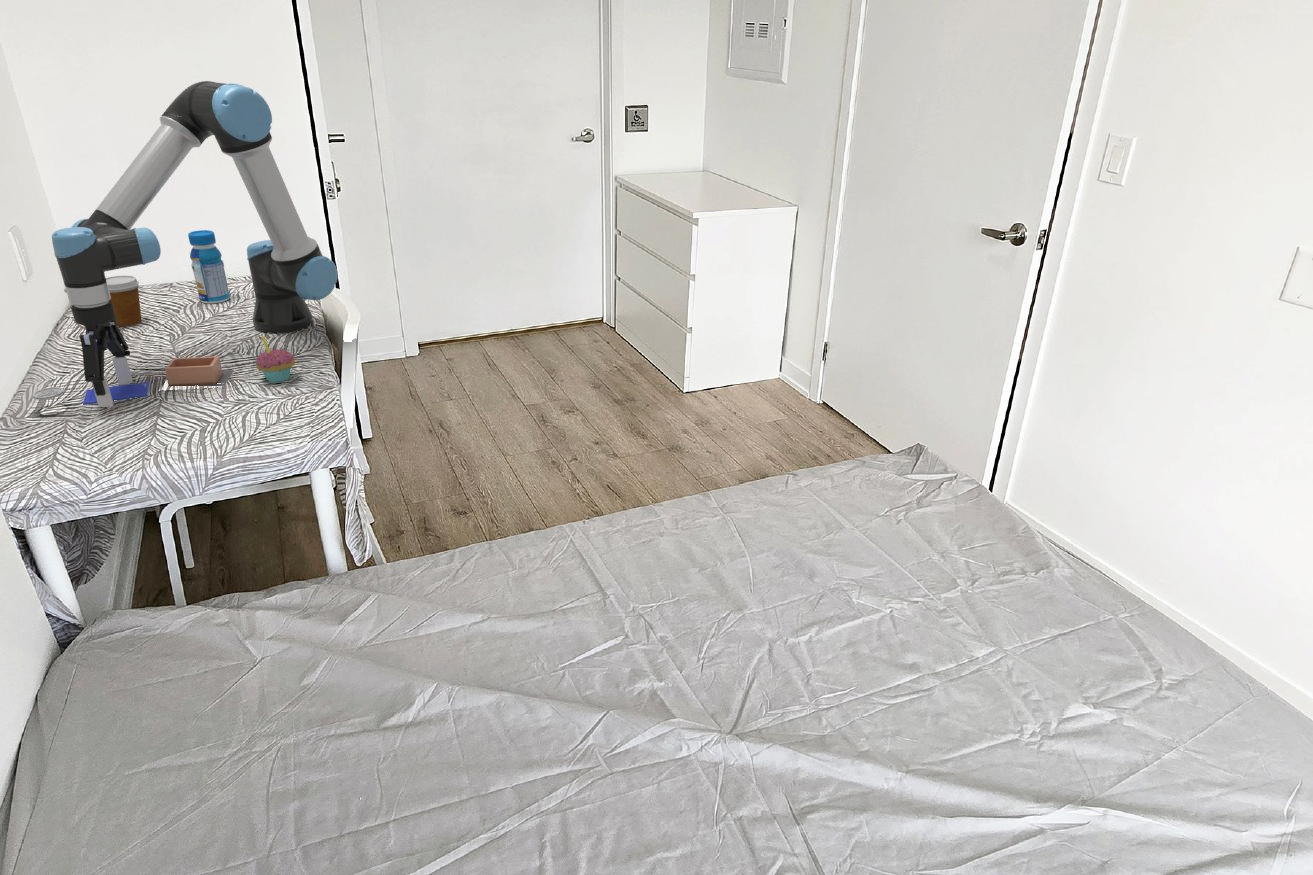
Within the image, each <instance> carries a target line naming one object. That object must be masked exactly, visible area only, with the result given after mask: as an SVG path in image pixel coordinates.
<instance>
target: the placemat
mask: <svg viewBox="0 0 1313 875" xmlns="http://www.w3.org/2000/svg"><path fill="white" fill-rule="evenodd" d="M234 371H235V370H234V369H224V370H223V369H222V372H223V374H222V376H221V378H220V379H219V381H218V383H221V384H214V385H198V386H224V387H222V388H221V389H224V388H225V386H226V384H227V383H228V381H229V380H230V378H231V376H232V374H233V373H234ZM222 383H224V384H222ZM225 383H226V384H225ZM196 386H197V385H196ZM208 389H209V390H211V389H213V388H208ZM208 389H207V388H204V389H203V390H208ZM216 389H219V388H218V387H217V388H216ZM196 390H198V389H197V388H196Z"/></svg>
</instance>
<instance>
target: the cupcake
mask: <svg viewBox="0 0 1313 875" xmlns="http://www.w3.org/2000/svg"><path fill="white" fill-rule="evenodd" d="M260 334H261V340H262V343H263V344H264V347H265V351H263V352H261V353H259V355H258V356H257V357H256V358H255V361H254V362H255V367H256V369H257V370H259V371H261V372H262V374H263V375H264V377H265V378H266V380H267V381H268V382H272V383H279V382H283V381H286V380H287V379H288V378H289V379H290V374H291V370H292V368H293V366H295V365H296V359H295V357H294V355H293V354H292V353H291V352H290V351H287V350H285V349H282V348H280V349H278V348H274V349H270V348H269V345H268V342H267V339H266V336H265V335H263V333H260ZM289 379H288V380H289ZM288 380H287V381H288Z"/></svg>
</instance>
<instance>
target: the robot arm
mask: <svg viewBox="0 0 1313 875" xmlns="http://www.w3.org/2000/svg"><path fill="white" fill-rule="evenodd" d="M272 116H273V115H272V111H271V109H270V106H269V104H268V102H267V101H266V100H265V98H264V97H263V96H262V95H261V94H260V93H258V91H256V90H254V89H252V88H250V87H248V86H244V85H243V84H238V83H232V82H231V83H225V82H216V81H209V80H202V81H198V82H195V83H193V84H191V85H189V86H188V87H186V88H185V89H184V90H182V91H181V92H180V93H179V94H178V95H177V96H176V97H175V98H174V99H173V101H172V102H170V104H169V105H168V106H167V108H166V109H165V110H164V112H163V113H162V114H161V116H160V117H159V121H160V126H159V127H158V128H157V130H156V131H155V132H154V134H152V135H151V137H150V138H149V140H148V141H147V142H146V143H145V145H144V146H143V148H141V150H140V152H139V153H138V154H137V156H136V157H135V158H134V159H133V160H132V162H131V163H130V165H129V166H128V167H127V168H126V170H125V171H124V172H123V174H122V175H121V176H120V178H118V180H117V181H116V183H115V184H114V185H113V187H111V189H110V190H109V191H108V193H107V195H106V196H104V199H103V200H101V202H100V203H99V205H98V206H97V207H96V209H95V210H94V211H93V213H91V215H90V216H89V217H88V218H83V219H80V220H78V221H76V222H74V223H73V224H72V225H71V227H65V228H64V227H63V228H61V229H60V228H59V229H57V230H55V231H53V233H52V234H51V240H52V241H51V242H52V248H53V251H54V254H53V255H54V257H55V258H56V261H57V264H58V268H59V271H60V274H61V277H62V280H63V285H64V289H63V291H64V293H66V294H67V298H68V301H69V302H68V303H69V304H71V306H70V309H71V310H70V311H71V313H72V316H73V320H74V322H75V323H76V324H78V325H80V326H83V327H85V334H80V335H79V340H80V344H81V352H82V361H83V373H84V380H85V382H86V383H91V386H92V387H93V388H92V389H94V392H95V395H96V399H97V402H98V404H97V405H98V408H99V407H107V408H109V407H108V406H113V405H114V406H115V404H114V402H113V400H112V397H111V393H110V389H109V387H110V386H109V382H108V380H107V378H105V352H106V351H107V349H108V351H109V352H110V354H111V355H112V356H113V357H112V358H111V361H112V363H113V364H112V365H113V367H114V371H115V375H116V378H117V383H118V386H121V385H129V384H130V383H132V384H134V381H133V378H132V374H131V369H130V366H129V362H128V359H127V357H129V356H131V351H130V350H129V345H128V343H127V340H125V338H124V335H123V334H122V332H121V329H120V328H119V327H120V326H118V325H117V323H116V320H115V312H114V308H113V304H112V302H111V301H109V300H110V299H111V296H110V292H109V288H108V285H107V281H106V278H107V277H106V275H105V272H109V271H110V272H111V271H115V270H120V269H125V268H130V267H135V266H140V265H141V266H143V265H144V266H145V265H146V264H149V263H154V262H156V261H158V260H159V259H160V257H161V252H162V251H161V245H160V242H159V239H158V237H157V235H156V234H155V233H154V231H152V229H150V228H148V227H139V228H138V227H137V228H136V227H133V226H134V225H135V223H137V221H138V220H139V219H140V217H141V216H142V214H143V213H144V212H145V210H146V209H147V208H148V207H149V205H150V204H151V203H152V201H153V200H154V199H155V197H156V196H157V194H158V193H159V192H160V190H162V188H163V187H164V186H165V184H166V183H167V182H168V180H169V179H170V178H171V177H172V175H173V174H174V172H175V171H176V170H177V169H178V167H179V166H180V165H181V163H182V162H183V161H184V159H185V158H186V157H187V155H188V154H189V153H190V152H191V150H192V149H194V148H200V147H201V145H202V144H203V143H204V142H205V141H206V140H207V139H208V138H210V137H211V136H214V137H215V141H216V142H217V145H218V146H219V148H220V150H221V153H222V154H224V155H226V156H229V157H231V158H232V161H233V162H234V165H235V166H236V168H237V171H238V173H239V175H240V177H241V180H242V182H243V184H244V186H245V188H246V191H247V192H248V194H249V198H250V199H251V201H252V203H253V205H254V208H255V210H256V212H257V214H258V216H259V218H260V221H261V223H262V225H263V228H264V229H265V231H266V233H267V235H268V237H269V239H267V240H266V239H265V240H260V241H255V242H253V243H250V244H248V246H247V248H246V255H247V256H246V257H247V258H246V259H247V261H248V265H249V271H250V275H251V281H252V286H253V291H254V295H255V303H254V308H253V315H252V323H253V328H254V329H255V330H256V331H258V332H261V333H267V332H284V333H289V332H296V331H300V330H302V329H305V328H307V327H308V328H309V326H312V324H313V322H314V321H313V313H312V312H311V309H310V308H309V306H308V304H307V302H306V300H311V301H319V300H323V299H325V298H327V297H328V296H329V295H330V294H331V293H332V291H333V290H334V289H335V286H336V283H337V282H338V269H337V267H336V264H335V263H334V261H333V260H332V259H330V258H329V257H327V256H325V255H323V253H322V251H321V248H320V247H319V244H318V242H317V240H316V239H314V238H311V237H310V236H308V234H307V232H306V230H305V228H304V225H303V222H302V221H301V217H300V216H299V213H298V211H297V208H296V206H295V205H294V202H293V199H292V198H291V195H290V192H289V190H288V188H287V186H286V184H285V180H284V178H283V177H282V174H281V171H280V170H279V167H278V165H277V163H276V160H275V158H274V155H273V153H272V151H271V148H270V144H271V142H272V141H273V136H272V133H271V129H272V126H271V124H272V123H273V117H272ZM132 227H133V228H132ZM114 406H113V407H114Z"/></svg>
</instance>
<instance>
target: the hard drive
mask: <svg viewBox="0 0 1313 875" xmlns="http://www.w3.org/2000/svg"><path fill="white" fill-rule="evenodd" d="M149 387H150V388H151V382H150V381H147V382H140V383H139V382H137V383H132V384H120V385H116V386H115V385H114V386H109V389H110V393H111V397H112V400H113V401H114V400H121V401H125V400H124V399H129V400H131V399H130V398H135V397H144V398H148V397H149V395H150V389H149ZM148 394H149V395H148ZM147 396H148V397H147ZM114 402H115V401H114ZM96 403H98V402H97V399H96V395H95V392H94V389H93V388H92V389H87V390H86V393H85V396H84V398H83V401H82V404H83V406H89V405H96Z"/></svg>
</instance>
